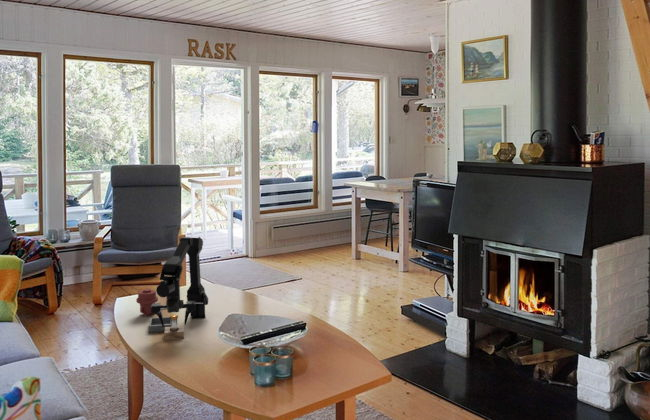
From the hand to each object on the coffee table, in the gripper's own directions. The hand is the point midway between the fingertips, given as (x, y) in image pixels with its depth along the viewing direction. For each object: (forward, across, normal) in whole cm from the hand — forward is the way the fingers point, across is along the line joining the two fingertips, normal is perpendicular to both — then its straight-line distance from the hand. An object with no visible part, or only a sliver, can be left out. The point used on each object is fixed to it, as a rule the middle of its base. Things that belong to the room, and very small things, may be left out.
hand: (174, 326), depth 258 cm
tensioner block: (+4, 0, 0) cm, 4 cm away
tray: (+4, -5, +13) cm, 15 cm away
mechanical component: (+5, -13, +35) cm, 38 cm away
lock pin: (+4, 0, 0) cm, 4 cm away
